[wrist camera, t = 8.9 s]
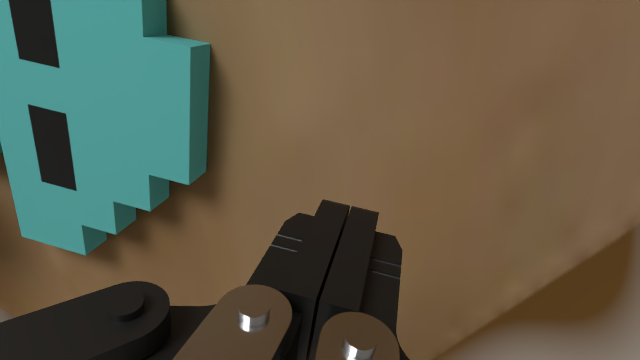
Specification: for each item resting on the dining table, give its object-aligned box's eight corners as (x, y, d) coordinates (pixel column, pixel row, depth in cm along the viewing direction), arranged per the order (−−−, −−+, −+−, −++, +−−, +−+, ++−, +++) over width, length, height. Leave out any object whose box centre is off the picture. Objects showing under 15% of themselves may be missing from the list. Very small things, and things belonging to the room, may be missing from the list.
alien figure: (-60, 186, 26) (206, 263, 24) (-98, 200, 25) (187, 286, 22) (-180, -191, 18) (221, -132, 15) (-254, -216, 16) (192, -153, 13)
